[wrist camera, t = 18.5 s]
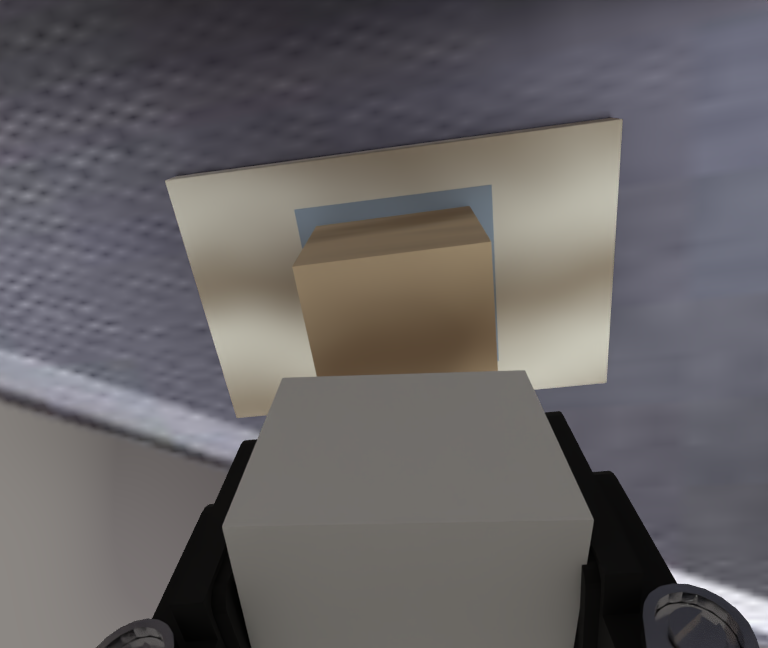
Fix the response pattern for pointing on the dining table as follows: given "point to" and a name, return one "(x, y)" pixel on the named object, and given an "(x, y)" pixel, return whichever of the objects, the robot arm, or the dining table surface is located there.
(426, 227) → the oak block
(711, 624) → the robot arm
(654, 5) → the dining table surface
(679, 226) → the dining table surface
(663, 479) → the dining table surface
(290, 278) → the board
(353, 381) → the grey block
